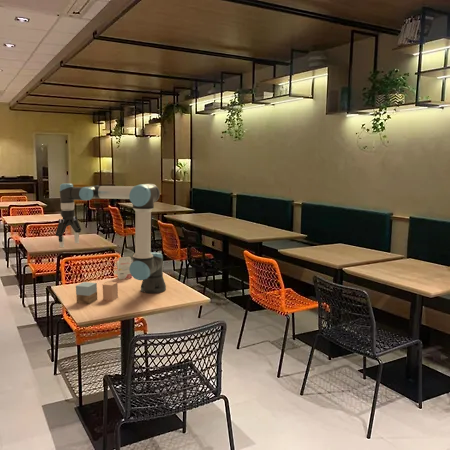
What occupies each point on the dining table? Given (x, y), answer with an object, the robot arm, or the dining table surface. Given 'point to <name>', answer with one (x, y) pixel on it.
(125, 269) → the ink cartridge box
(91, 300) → the tower base block
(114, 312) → the dining table surface
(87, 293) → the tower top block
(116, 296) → the terracotta block
